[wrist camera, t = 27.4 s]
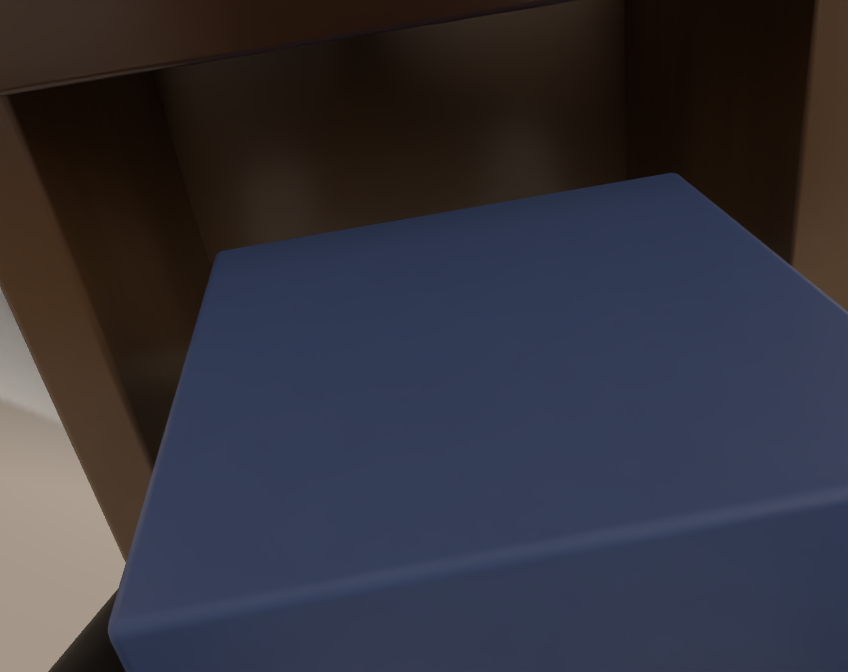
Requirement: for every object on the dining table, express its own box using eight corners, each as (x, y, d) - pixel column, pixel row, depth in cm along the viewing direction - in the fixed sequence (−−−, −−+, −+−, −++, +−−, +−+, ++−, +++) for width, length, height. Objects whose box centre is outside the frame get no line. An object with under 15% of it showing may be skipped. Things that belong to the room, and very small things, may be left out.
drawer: (675, 492, 19) (832, 759, 13) (248, 571, 19) (214, 880, 13) (700, -446, 11) (1148, -839, 5) (-67, -329, 11) (-561, -603, 5)
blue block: (312, 581, 10) (306, 1040, 6) (214, 249, 8) (98, 633, 4) (670, 516, 10) (894, 921, 6) (676, 167, 8) (1042, 458, 4)
